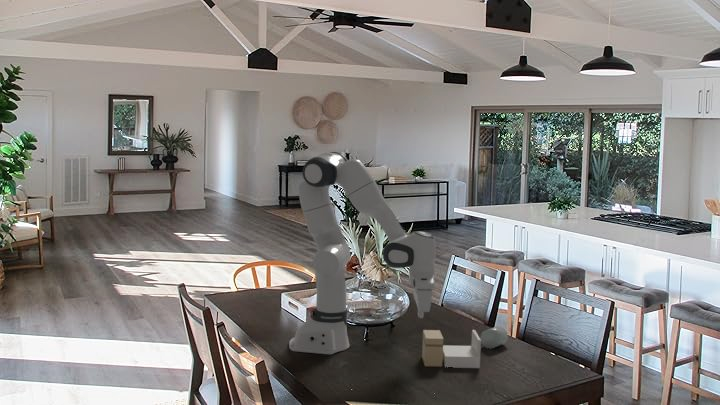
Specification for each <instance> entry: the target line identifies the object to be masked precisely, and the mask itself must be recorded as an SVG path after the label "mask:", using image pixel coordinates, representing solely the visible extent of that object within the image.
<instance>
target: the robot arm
mask: <svg viewBox="0 0 720 405" xmlns="http://www.w3.org/2000/svg"><path fill="white" fill-rule="evenodd" d="M302 178H303V180H302V181H301V182H299V184H298V188H297V189H298V197H299V203H300V207H301V210H302V214H303V218H304V220H305V224H306V226H307V230H308V233H309V235H311V236H312V239H313V241H314V243H315V245H316V247H317V249H318V250H317V251H316V252H315V254H314V257H313V261H312V267H313V270H314V279H315V285H316V304H315V305H316V306H313V305H312V306H311V307H310V309H309V312H310V318H309V319H307V320H306V321H304V322H303V323H302V324H300V325H299V326H298V328H297V329H296V332H295V336H294V337H292V338H291V339H290V340H289V343H288V348H289V350H290V351H292V352H300V353H308V354H309V353H311V354H321V355H333V354H335V353H338V352H342V351H345V350H348V348H350V346H351V345H350V341H349V337H348V330H347V323H348V313H349V312H348V308H347V293H348V292H347V285H346V278H345V277H346V275H345V269H346V265H347V264H348V263H349V262H350V258H351V250H350V246H349V245H348V244H347V243H348V242H347V241H346V237H345V236H344V234H343V231H342V229H341V228H340V225H339V223H338V220H337V216H336V213H335V210H334V206H333V203H332V200H331V197H330V194H329V193H330V192H329V190H330V187H331V186H334V185H335V184H338V185H339V186H340V187H342V189H343V190H344V193H345V194H346V196H347V198H348V199H349V201H350V203H351V204H352V205H353V207H354V208H355V209H356V211H358V212H359V213H361V214H364V215H366V216H370V217H371V218H373V219H374V220H375V221H376V222H377V223H378V224H379V226H380V228H381V229H382V230H383V232H384V233H385V235H386V237H387V238H388V240H389V242H388V243H387V244H386V245H385V247H384V248H383V250H382V257H383V261H384V262H385V264H386V265H387V266H389V267H391V268H394V269H401V268H409V275H408V276H409V277H408V278H409V279H408V282H409V284H411V286H412V288H413V289H412V290H413V292H412V294H413V295H412V296H413V298H414V301H415V304H416V308H417V317H418V318H419V319H423V318H424V316H425V315H424V314H425V313H429V312H430V310H431V306H432V296H433V290H434V289H435V283H436V282H435V280H436V267H435V263H436V258H437V256H436V255H437V247H436V246H437V245H436V239H435V237H434V235H432V234H431V233H429V232H426V231H420V230H418V231H417V230H414V231H413V232H412V233H411V234H410V233H408V232H407V231H406V230H405V229H404V228H403V226H402V225H401V223H400V221H399V220H398V218H397V217H396V216H395V214H394V212H393V211H392V210H391V208H390V206H389V205H388V203H387V201H386V199H385V197H384V195H383V193H382V191H381V189H380V187H379V186H378V184H377V182H376V180H375V179H374V177H373V175H372V173H370V170H368V168H367V167H366V166H365V164H364V163H363V162H362V161H361V160H359V159H357V158H352V159H351V158H350V159H348V158H347V156H345V155H344V154H342V153H340V152H336V151H330V152H327V153H322V154H319V155H317V156H314V157H312V158H310V159H308V160H307V161H306V162H305V163H304V165H303V168H302Z"/></svg>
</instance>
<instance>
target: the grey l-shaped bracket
mask: <svg viewBox="0 0 720 405" xmlns="http://www.w3.org/2000/svg"><path fill="white" fill-rule="evenodd" d="M481 349H482V342H481V337H480V336H479V335H478V332H477V331H476V329H472V330H471V344H470V345H447V344H446V345H445V344H443V359H442V364H443V363H444V364H443V366H444V368H445V369H446V367H447V369H448V367H453V368H454V369H455V368H457V369H460V368H461V369H480V368H481V353H482V352H481ZM453 368H452V369H453Z"/></svg>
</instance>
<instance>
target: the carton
mask: <svg viewBox="0 0 720 405" xmlns="http://www.w3.org/2000/svg"><path fill="white" fill-rule="evenodd" d="M443 345H444V336H443V334H442V332H441V330H440V329H437V330H436V329H422V350H421V351H422V352H421V358H422V362H423V364H424V367H443V361H442V359H443Z"/></svg>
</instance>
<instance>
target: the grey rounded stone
mask: <svg viewBox="0 0 720 405" xmlns="http://www.w3.org/2000/svg"><path fill="white" fill-rule="evenodd" d="M480 339H481V345H482V346H483V347H484V348H486V349H488V348H489V349H488V350H491V349H494V348H497V347H500V346H502V345H504V344H505V343H507V342H508V339H509V334H508V331H507V330H506V328H505V327H503V326H501V325H497V326H494V327H490V328H489V329H485V330H483V331H482V332H481V334H480Z"/></svg>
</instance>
